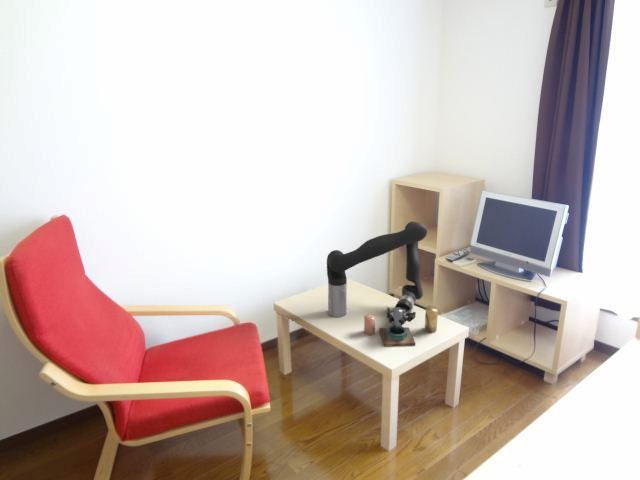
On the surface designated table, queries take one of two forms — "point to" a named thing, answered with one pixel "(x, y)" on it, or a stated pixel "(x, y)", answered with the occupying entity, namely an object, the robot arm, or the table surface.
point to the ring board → (396, 337)
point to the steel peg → (397, 320)
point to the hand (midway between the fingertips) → (396, 322)
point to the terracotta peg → (369, 324)
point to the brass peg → (431, 319)
